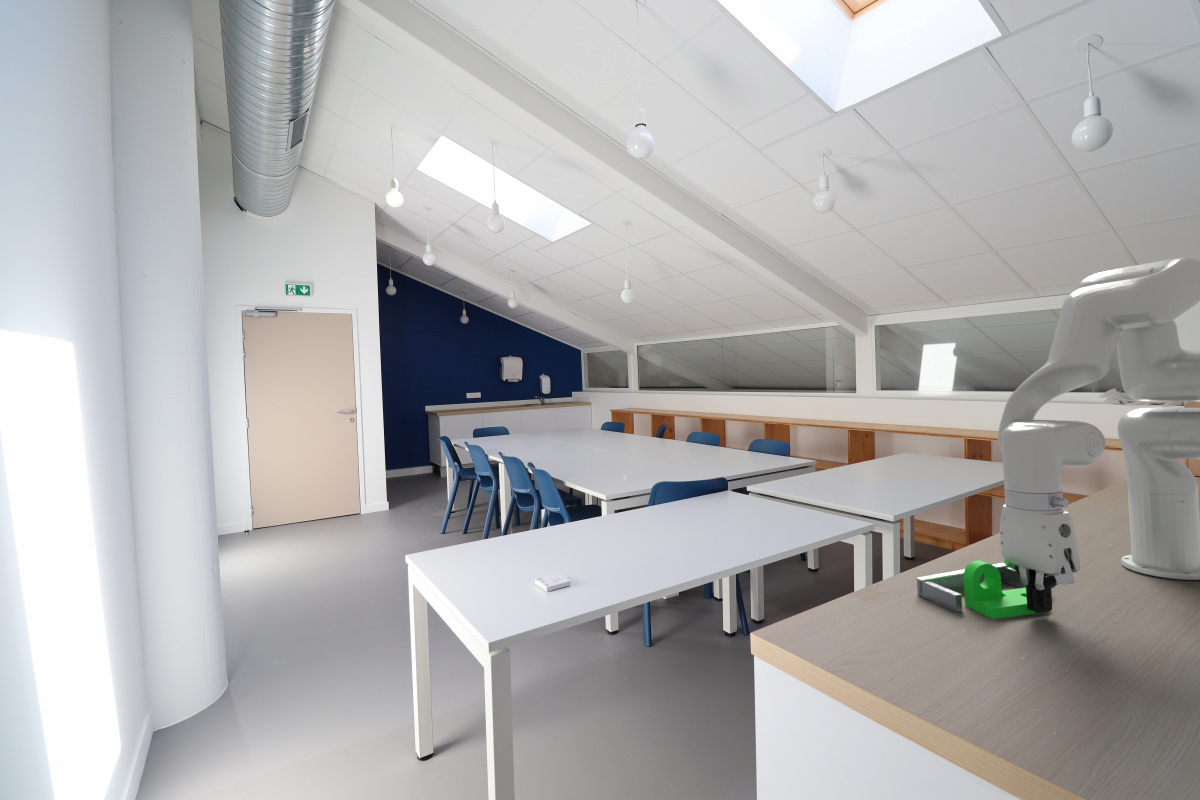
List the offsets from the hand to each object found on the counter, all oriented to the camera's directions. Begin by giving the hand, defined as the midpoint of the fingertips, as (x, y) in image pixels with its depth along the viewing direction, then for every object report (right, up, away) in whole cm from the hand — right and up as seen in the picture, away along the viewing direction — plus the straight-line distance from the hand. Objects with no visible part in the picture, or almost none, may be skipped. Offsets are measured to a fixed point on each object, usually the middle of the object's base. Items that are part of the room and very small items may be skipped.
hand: (1039, 610), depth 91 cm
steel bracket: (-2, -1, +11) cm, 11 cm away
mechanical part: (-2, -2, +5) cm, 5 cm away
